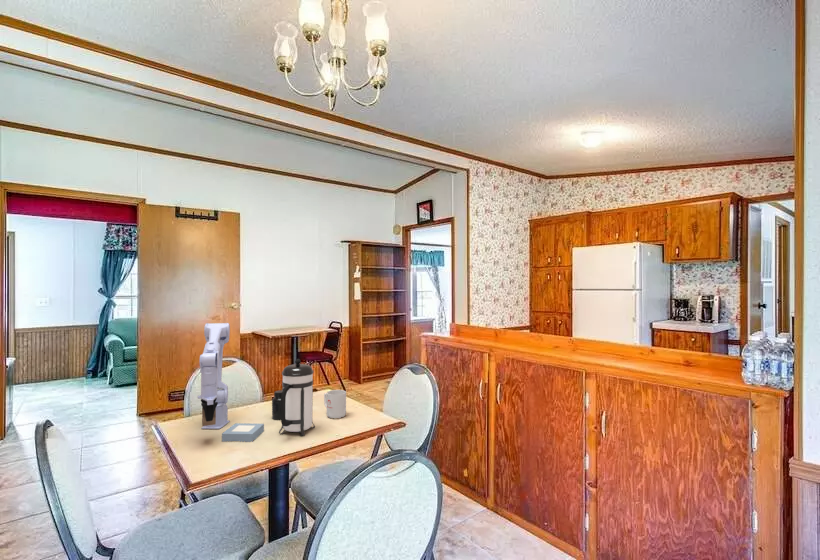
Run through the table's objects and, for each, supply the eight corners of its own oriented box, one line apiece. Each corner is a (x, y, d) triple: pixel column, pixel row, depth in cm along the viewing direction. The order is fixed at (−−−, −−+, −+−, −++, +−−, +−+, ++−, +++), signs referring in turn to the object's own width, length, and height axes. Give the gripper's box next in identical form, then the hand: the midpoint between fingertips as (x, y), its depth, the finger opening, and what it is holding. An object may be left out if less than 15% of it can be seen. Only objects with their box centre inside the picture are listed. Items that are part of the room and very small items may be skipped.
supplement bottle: (282, 414, 195) (282, 388, 195) (290, 417, 191) (290, 391, 191) (268, 418, 190) (269, 391, 190) (277, 421, 185) (277, 394, 185)
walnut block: (202, 422, 162) (202, 407, 162) (214, 420, 164) (214, 405, 164) (202, 426, 158) (202, 410, 158) (215, 424, 160) (215, 408, 160)
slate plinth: (235, 430, 173) (235, 423, 173) (263, 430, 173) (263, 423, 173) (221, 441, 161) (221, 433, 161) (252, 441, 161) (252, 434, 161)
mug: (349, 415, 194) (350, 391, 194) (336, 420, 187) (336, 395, 187) (331, 411, 201) (331, 387, 201) (317, 415, 194) (317, 391, 194)
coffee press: (272, 428, 176) (273, 357, 176) (310, 423, 183) (311, 354, 184) (280, 442, 161) (281, 364, 161) (321, 435, 168) (322, 361, 168)
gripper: (197, 380, 165) (196, 415, 165) (198, 389, 153) (197, 426, 152) (216, 379, 169) (216, 412, 169) (219, 386, 156) (219, 423, 156)
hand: (208, 418), depth 161 cm, fingers closed on walnut block, 4 cm apart
